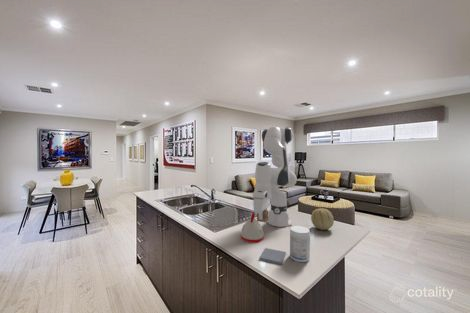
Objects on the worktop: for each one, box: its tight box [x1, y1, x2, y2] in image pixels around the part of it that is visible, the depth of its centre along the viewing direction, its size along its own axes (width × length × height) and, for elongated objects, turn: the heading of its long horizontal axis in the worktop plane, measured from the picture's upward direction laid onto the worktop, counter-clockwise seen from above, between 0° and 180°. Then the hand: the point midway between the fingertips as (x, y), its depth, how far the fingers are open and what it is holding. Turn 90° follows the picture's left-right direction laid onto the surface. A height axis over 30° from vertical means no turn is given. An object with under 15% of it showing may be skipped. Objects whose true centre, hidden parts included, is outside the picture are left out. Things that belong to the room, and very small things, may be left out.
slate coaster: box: [259, 247, 287, 266], centre depth 102 cm, size 11×11×1 cm
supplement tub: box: [289, 225, 311, 263], centre depth 101 cm, size 10×10×15 cm
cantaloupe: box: [310, 206, 335, 231], centre depth 141 cm, size 15×15×15 cm
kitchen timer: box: [240, 212, 264, 243], centre depth 125 cm, size 14×14×15 cm
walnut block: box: [256, 209, 269, 223], centre depth 109 cm, size 5×5×5 cm
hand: (262, 217), depth 109 cm, fingers closed on walnut block, 5 cm apart
